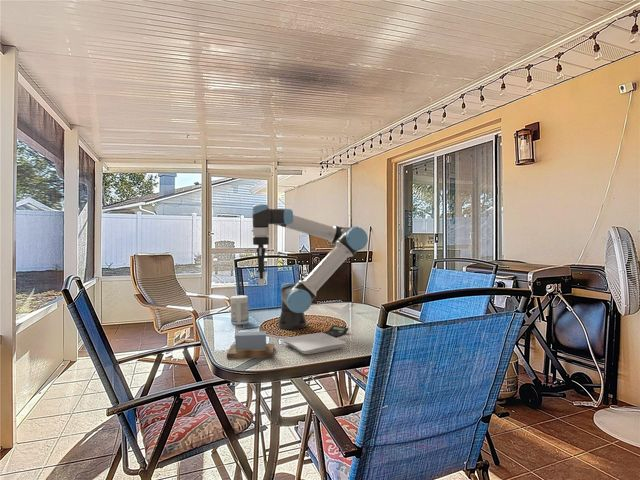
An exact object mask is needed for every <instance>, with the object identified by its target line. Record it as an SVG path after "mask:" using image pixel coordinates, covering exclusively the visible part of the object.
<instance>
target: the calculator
mask: <svg viewBox="0 0 640 480" xmlns="http://www.w3.org/2000/svg"><path fill="white" fill-rule="evenodd" d="M348 331H349V328H348V327H345V326H339V325H335V324H333V325H331V327H330V328H329V330H326V331H324V332H322V333H325V334H328V335H330V336H333V337H335V338H337V339H338V338H339V337H341V336H344V335H345V334H346V333H347V332H348Z"/></svg>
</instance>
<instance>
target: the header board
mask: <svg viewBox="0 0 640 480" xmlns="http://www.w3.org/2000/svg"><path fill="white" fill-rule="evenodd" d="M274 352H275V343H266V349H265V350H236V351H235V344H231V345H230V347H229V349H228V351H227V353H226V359H227V358H234V359H260V358H274Z"/></svg>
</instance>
